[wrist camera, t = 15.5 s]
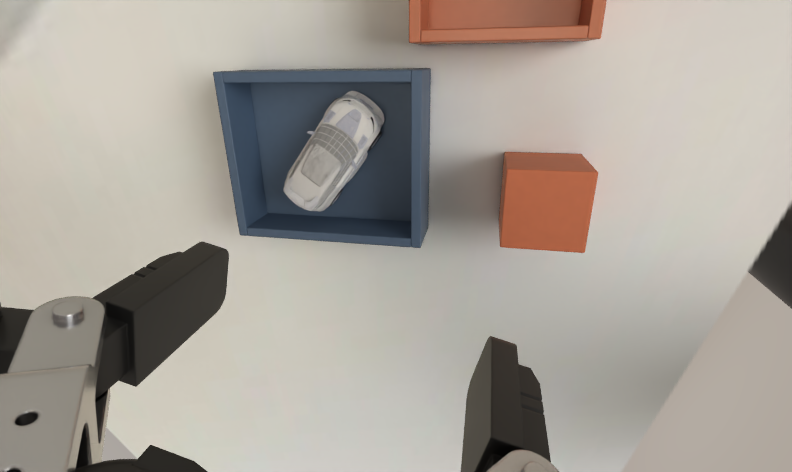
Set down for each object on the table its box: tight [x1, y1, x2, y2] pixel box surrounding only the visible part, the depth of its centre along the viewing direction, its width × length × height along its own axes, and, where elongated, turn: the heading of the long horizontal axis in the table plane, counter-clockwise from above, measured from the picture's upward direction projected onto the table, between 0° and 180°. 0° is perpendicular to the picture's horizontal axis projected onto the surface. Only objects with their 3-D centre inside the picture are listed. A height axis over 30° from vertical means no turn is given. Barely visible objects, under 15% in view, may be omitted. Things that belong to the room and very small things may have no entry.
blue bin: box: [213, 68, 431, 248], centre depth 27 cm, size 12×10×4 cm
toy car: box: [283, 91, 384, 212], centre depth 27 cm, size 4×8×3 cm, turn 145°
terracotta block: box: [499, 152, 598, 253], centre depth 25 cm, size 4×4×4 cm
